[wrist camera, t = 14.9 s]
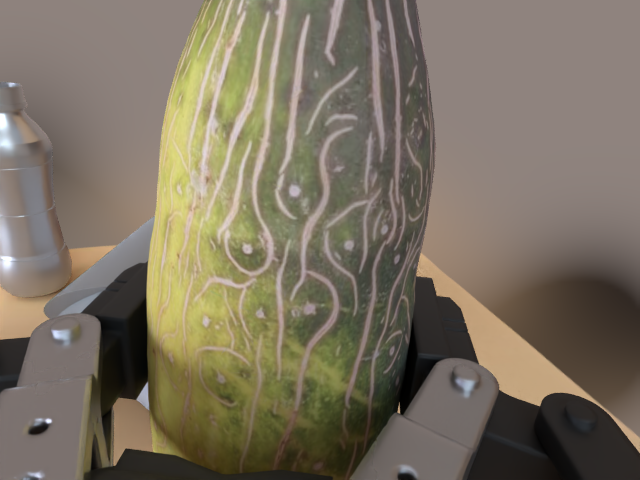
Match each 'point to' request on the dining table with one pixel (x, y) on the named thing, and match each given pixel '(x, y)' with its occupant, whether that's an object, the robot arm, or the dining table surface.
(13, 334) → the dining table surface
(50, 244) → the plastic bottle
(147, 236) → the elbow connector
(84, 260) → the dining table surface
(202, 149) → the vegetable
